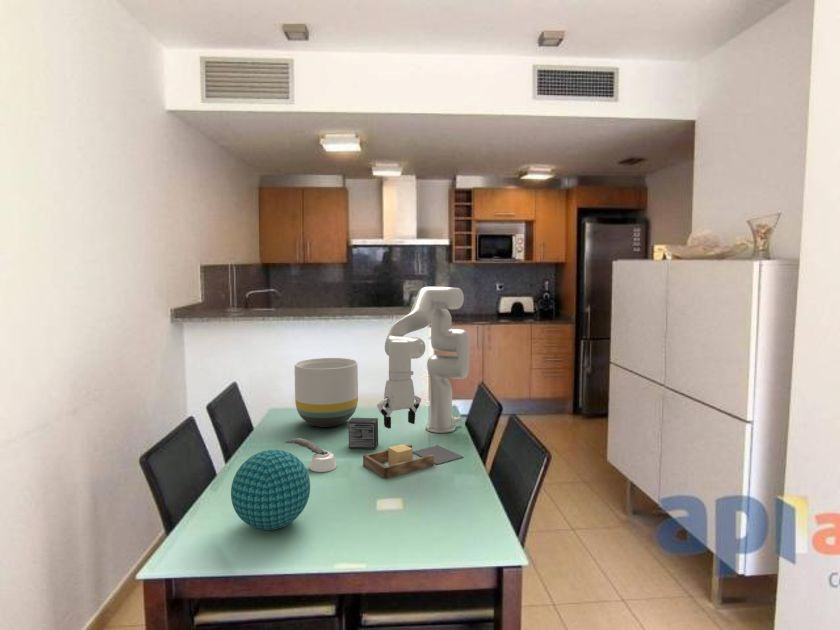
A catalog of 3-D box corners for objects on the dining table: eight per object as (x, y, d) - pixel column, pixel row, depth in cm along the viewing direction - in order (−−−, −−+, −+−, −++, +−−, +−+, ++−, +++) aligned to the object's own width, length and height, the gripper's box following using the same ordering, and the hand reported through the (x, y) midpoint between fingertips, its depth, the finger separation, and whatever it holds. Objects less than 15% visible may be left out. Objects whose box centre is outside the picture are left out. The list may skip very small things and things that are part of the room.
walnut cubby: (410, 453, 192) (410, 444, 191) (433, 465, 180) (433, 455, 180) (363, 465, 180) (363, 455, 180) (385, 478, 169) (384, 468, 168)
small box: (379, 443, 202) (378, 417, 201) (375, 449, 196) (375, 422, 195) (352, 443, 203) (351, 416, 202) (348, 448, 197) (347, 421, 196)
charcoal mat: (437, 446, 200) (437, 445, 199) (463, 457, 187) (463, 456, 187) (412, 452, 193) (412, 451, 193) (436, 464, 180) (436, 463, 180)
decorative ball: (293, 548, 127) (291, 468, 125) (216, 541, 130) (213, 463, 128) (321, 510, 147) (320, 441, 145) (254, 505, 150) (252, 437, 148)
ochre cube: (402, 460, 185) (402, 444, 184) (412, 465, 180) (412, 448, 180) (388, 464, 181) (388, 447, 181) (397, 469, 177) (397, 452, 176)
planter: (308, 414, 243) (307, 357, 240) (364, 416, 239) (364, 358, 237) (285, 432, 216) (284, 368, 214) (348, 435, 213) (348, 369, 210)
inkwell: (334, 472, 174) (334, 443, 173) (280, 472, 174) (279, 443, 173) (338, 462, 183) (338, 434, 183) (287, 462, 183) (286, 434, 182)
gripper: (414, 371, 186) (414, 419, 187) (372, 376, 176) (372, 426, 177) (426, 375, 180) (426, 424, 181) (383, 380, 170) (383, 432, 171)
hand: (399, 425), depth 179 cm, fingers open, 9 cm apart
